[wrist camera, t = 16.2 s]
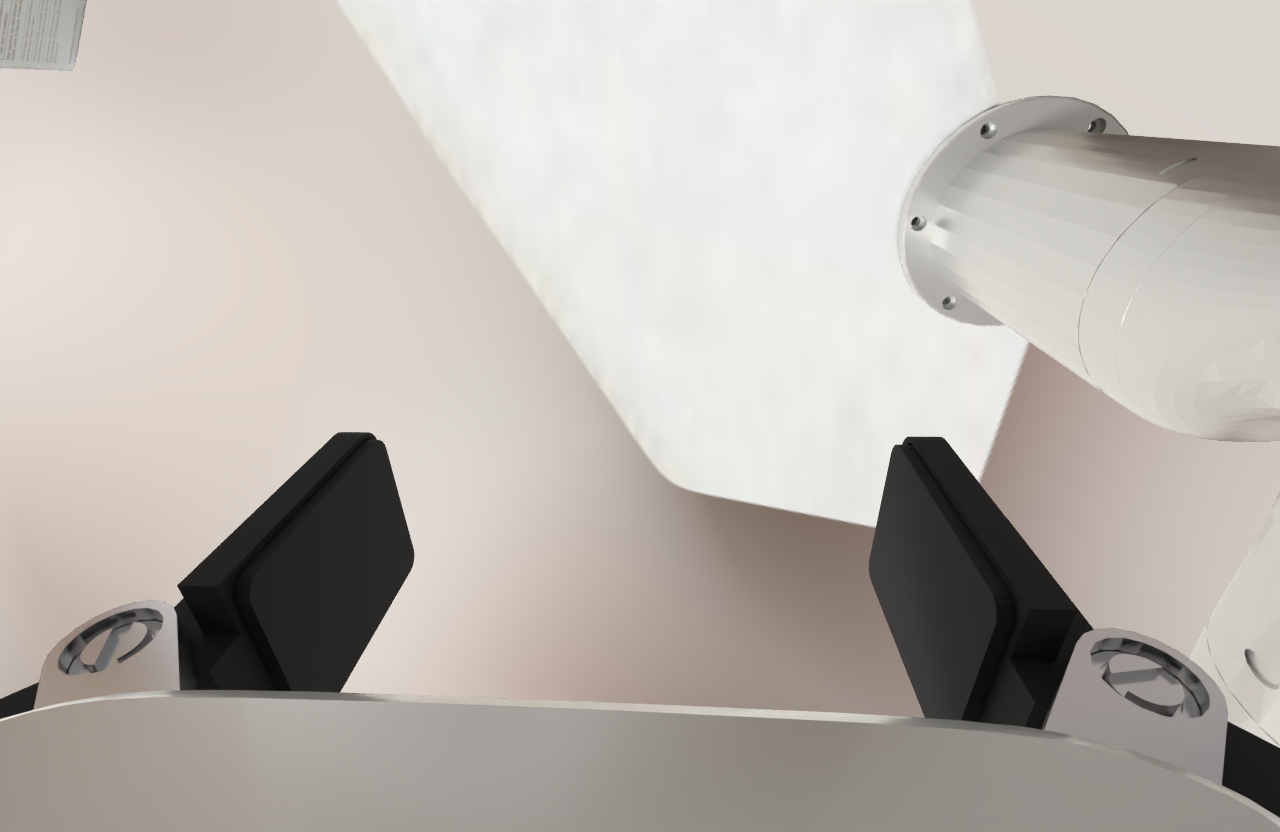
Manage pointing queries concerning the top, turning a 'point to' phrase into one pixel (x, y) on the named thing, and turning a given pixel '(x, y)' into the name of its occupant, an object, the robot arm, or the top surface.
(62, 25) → the supplement box
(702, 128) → the top surface
